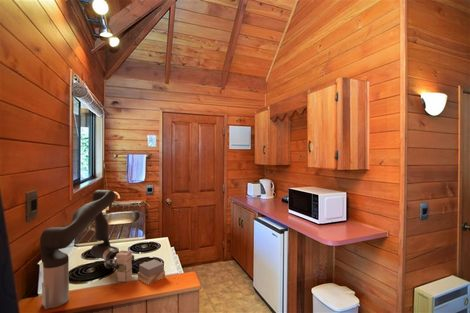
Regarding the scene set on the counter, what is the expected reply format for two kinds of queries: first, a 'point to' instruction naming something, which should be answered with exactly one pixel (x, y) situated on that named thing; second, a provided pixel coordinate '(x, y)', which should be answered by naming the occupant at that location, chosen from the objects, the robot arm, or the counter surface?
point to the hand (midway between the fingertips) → (125, 264)
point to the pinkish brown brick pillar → (124, 266)
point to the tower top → (151, 268)
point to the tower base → (151, 279)
